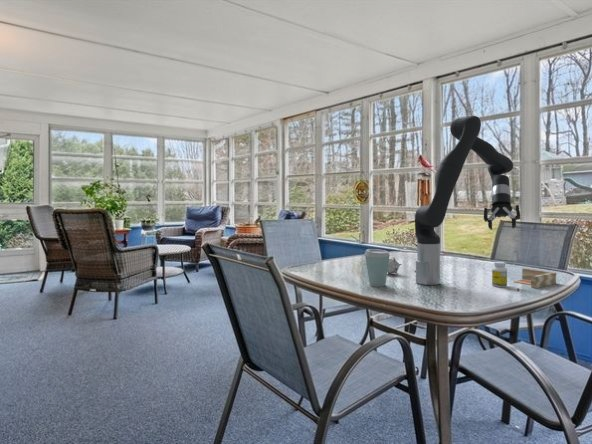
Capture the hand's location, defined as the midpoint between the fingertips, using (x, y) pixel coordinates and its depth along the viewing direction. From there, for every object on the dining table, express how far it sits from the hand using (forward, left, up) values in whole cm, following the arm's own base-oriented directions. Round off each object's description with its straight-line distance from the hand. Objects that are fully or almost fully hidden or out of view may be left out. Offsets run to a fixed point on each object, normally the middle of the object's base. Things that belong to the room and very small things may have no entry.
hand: (502, 228), depth 168 cm
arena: (+5, -9, -23) cm, 25 cm away
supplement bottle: (-11, -6, -23) cm, 26 cm away
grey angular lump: (-28, +38, -23) cm, 53 cm away
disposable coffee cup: (-51, +23, -23) cm, 61 cm away
